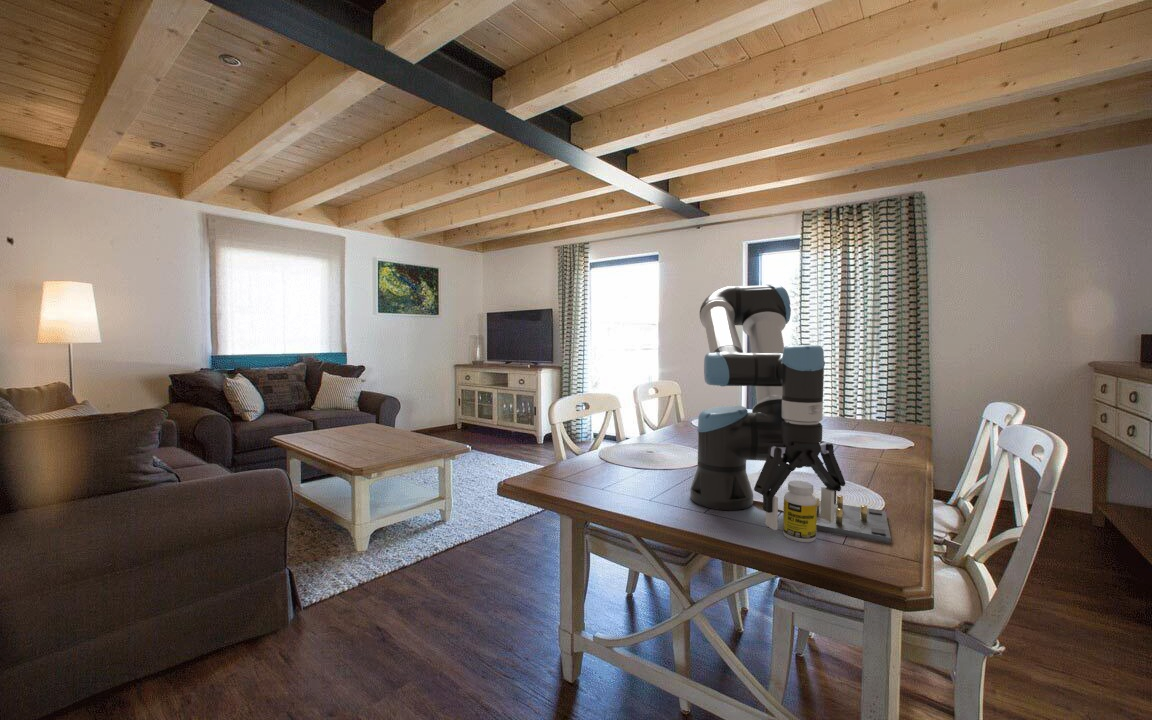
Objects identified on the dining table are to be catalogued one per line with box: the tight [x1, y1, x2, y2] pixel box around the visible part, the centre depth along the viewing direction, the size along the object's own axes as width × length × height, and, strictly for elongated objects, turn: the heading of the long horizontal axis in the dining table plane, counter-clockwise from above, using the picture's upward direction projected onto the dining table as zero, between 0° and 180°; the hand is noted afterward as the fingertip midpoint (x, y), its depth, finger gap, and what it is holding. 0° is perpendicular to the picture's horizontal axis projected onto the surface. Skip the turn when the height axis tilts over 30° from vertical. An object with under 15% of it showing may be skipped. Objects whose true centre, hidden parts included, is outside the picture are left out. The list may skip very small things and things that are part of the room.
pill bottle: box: [782, 480, 817, 543], centre depth 97 cm, size 6×6×11 cm
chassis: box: [815, 494, 892, 545], centre depth 105 cm, size 18×16×4 cm
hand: (799, 523), depth 97 cm, fingers open, 13 cm apart
